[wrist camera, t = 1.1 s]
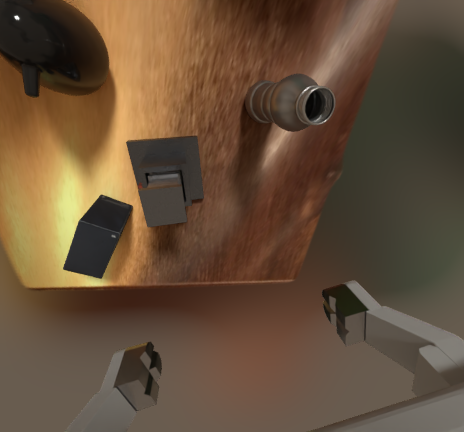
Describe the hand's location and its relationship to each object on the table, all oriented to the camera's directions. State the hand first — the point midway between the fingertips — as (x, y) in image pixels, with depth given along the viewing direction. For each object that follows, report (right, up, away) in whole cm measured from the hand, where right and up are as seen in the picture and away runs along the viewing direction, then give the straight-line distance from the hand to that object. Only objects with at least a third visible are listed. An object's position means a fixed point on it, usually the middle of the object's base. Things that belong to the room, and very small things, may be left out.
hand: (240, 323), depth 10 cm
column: (-12, +13, +31) cm, 36 cm away
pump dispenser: (-23, +28, +22) cm, 43 cm away
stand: (-13, +14, +32) cm, 37 cm away
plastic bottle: (+5, +26, +30) cm, 40 cm away
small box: (-26, +4, +35) cm, 43 cm away
